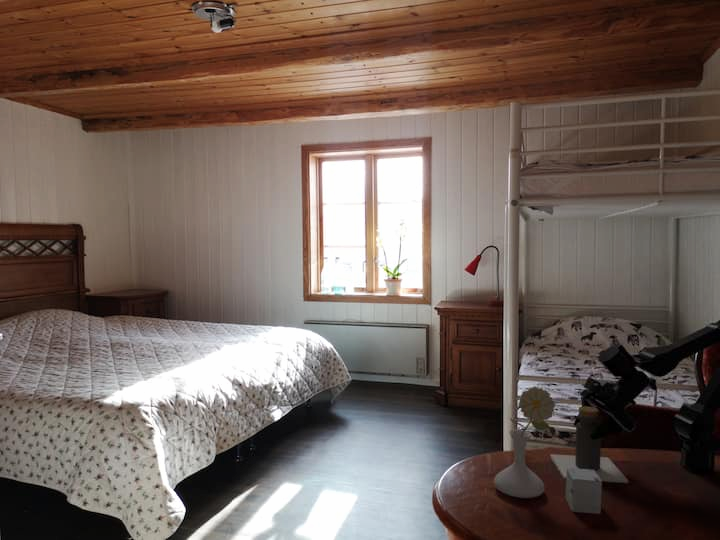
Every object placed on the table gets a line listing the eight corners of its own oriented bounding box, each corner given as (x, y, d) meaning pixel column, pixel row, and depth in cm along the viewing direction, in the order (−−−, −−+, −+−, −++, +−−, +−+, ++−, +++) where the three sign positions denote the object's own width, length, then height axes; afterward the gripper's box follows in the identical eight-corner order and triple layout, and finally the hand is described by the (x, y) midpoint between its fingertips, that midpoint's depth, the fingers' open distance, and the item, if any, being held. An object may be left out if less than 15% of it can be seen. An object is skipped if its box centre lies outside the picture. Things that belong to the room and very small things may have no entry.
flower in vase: (490, 497, 120) (492, 388, 118) (496, 477, 130) (499, 377, 129) (551, 509, 115) (554, 395, 114) (553, 486, 125) (556, 383, 124)
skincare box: (564, 498, 120) (565, 466, 119) (593, 501, 119) (594, 468, 118) (571, 512, 114) (572, 478, 113) (601, 514, 113) (602, 480, 112)
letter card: (607, 459, 142) (607, 457, 142) (628, 482, 128) (628, 480, 128) (550, 456, 143) (550, 454, 143) (563, 479, 130) (564, 476, 130)
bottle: (596, 473, 131) (597, 414, 131) (572, 467, 135) (573, 409, 134) (602, 465, 136) (604, 408, 135) (579, 459, 140) (580, 404, 139)
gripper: (588, 359, 144) (547, 399, 144) (625, 376, 125) (578, 422, 125) (615, 387, 145) (574, 427, 145) (656, 409, 126) (609, 454, 126)
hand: (582, 432), depth 135 cm, fingers open, 9 cm apart
